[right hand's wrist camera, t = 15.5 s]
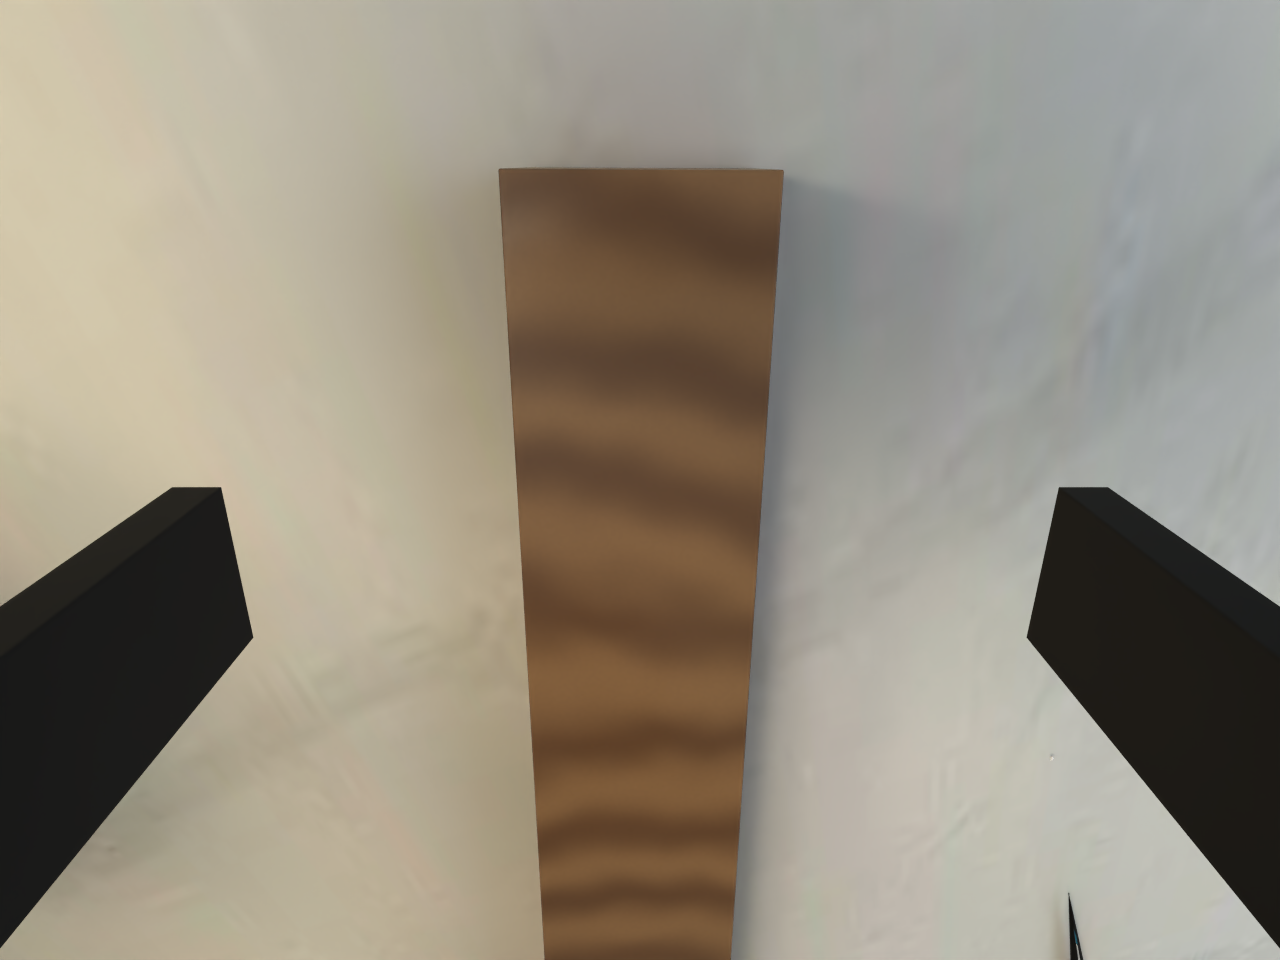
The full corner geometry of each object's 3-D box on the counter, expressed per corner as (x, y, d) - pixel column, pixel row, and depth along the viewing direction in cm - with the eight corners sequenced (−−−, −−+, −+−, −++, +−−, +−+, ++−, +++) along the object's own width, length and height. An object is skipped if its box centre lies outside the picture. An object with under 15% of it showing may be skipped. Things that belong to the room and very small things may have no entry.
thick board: (526, 167, 33) (498, 168, 26) (755, 168, 33) (784, 169, 27) (567, 1053, 54) (557, 1175, 48) (707, 1053, 54) (716, 1175, 48)
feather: (1044, 739, 45) (1076, 755, 44) (1087, 1060, 55) (1115, 1083, 53) (1025, 755, 45) (1057, 772, 43) (1071, 1078, 54) (1100, 1102, 52)
